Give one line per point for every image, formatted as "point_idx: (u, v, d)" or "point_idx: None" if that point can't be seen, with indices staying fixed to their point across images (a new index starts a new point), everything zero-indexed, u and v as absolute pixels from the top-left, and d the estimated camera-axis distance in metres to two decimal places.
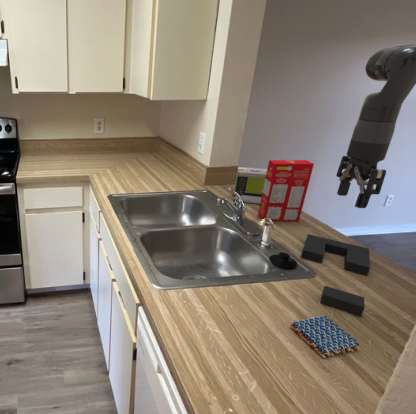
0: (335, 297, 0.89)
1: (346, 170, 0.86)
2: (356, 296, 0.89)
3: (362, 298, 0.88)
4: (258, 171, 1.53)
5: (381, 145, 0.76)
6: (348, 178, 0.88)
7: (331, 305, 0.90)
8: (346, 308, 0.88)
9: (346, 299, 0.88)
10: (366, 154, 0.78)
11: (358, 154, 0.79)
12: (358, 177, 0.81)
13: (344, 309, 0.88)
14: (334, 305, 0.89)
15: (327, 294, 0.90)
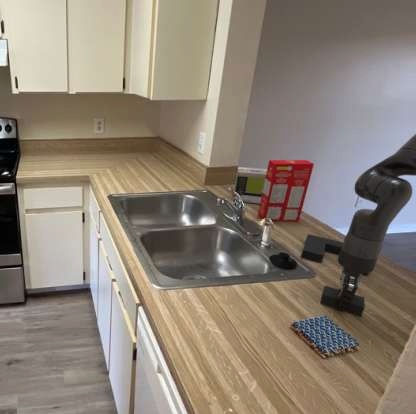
0: (335, 297, 0.89)
1: None
2: (356, 296, 0.89)
3: (362, 298, 0.88)
4: (258, 171, 1.53)
5: (361, 259, 0.81)
6: None
7: (331, 305, 0.90)
8: None
9: None
10: (347, 263, 0.83)
11: (341, 261, 0.85)
12: (341, 282, 0.87)
13: None
14: (334, 305, 0.89)
15: (327, 294, 0.90)
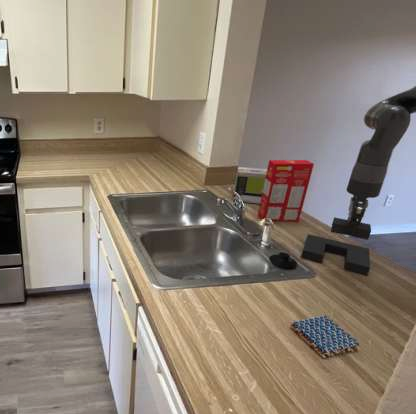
0: (344, 224, 0.98)
1: (350, 203, 0.99)
2: (363, 223, 0.98)
3: (368, 225, 0.98)
4: (258, 171, 1.53)
5: (368, 184, 0.90)
6: None
7: (341, 232, 0.99)
8: (355, 233, 0.97)
9: None
10: (355, 190, 0.93)
11: (350, 189, 0.94)
12: (349, 209, 0.96)
13: None
14: (343, 232, 0.98)
15: (337, 222, 0.99)
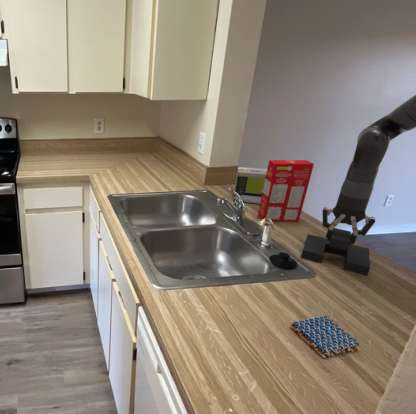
0: (334, 230, 1.10)
1: None
2: (347, 239, 1.04)
3: (347, 241, 1.03)
4: (258, 171, 1.53)
5: None
6: None
7: None
8: (330, 239, 1.08)
9: (336, 234, 1.08)
10: None
11: None
12: None
13: None
14: None
15: (336, 229, 1.11)
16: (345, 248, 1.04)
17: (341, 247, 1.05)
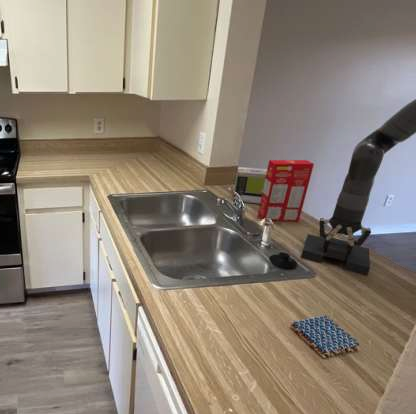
0: (331, 240, 1.11)
1: None
2: (344, 249, 1.06)
3: (343, 251, 1.05)
4: (258, 171, 1.53)
5: (336, 204, 1.05)
6: None
7: None
8: None
9: (333, 244, 1.09)
10: None
11: None
12: None
13: None
14: None
15: (333, 239, 1.12)
16: (342, 258, 1.06)
17: (337, 258, 1.06)
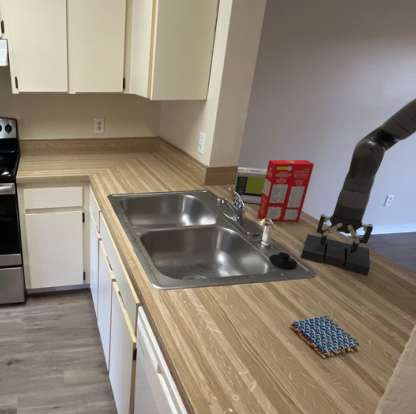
0: (328, 247, 1.12)
1: None
2: (341, 257, 1.07)
3: (341, 258, 1.06)
4: (258, 171, 1.53)
5: None
6: None
7: (325, 253, 1.14)
8: None
9: (330, 251, 1.10)
10: None
11: None
12: None
13: (324, 256, 1.12)
14: (325, 253, 1.13)
15: (330, 246, 1.14)
16: (339, 265, 1.07)
17: (335, 265, 1.07)
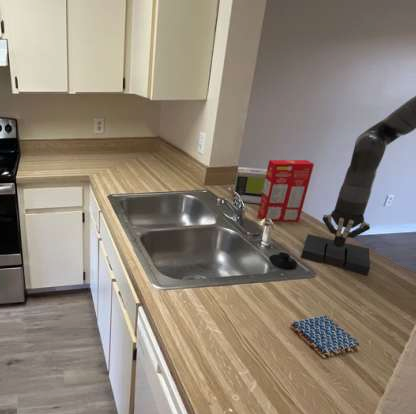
0: (328, 247, 1.12)
1: None
2: (341, 257, 1.07)
3: (341, 258, 1.06)
4: (258, 171, 1.53)
5: (338, 197, 1.04)
6: None
7: (325, 253, 1.14)
8: None
9: (330, 251, 1.10)
10: None
11: None
12: None
13: (324, 256, 1.12)
14: (325, 253, 1.13)
15: (330, 246, 1.14)
16: (339, 265, 1.07)
17: (335, 265, 1.07)
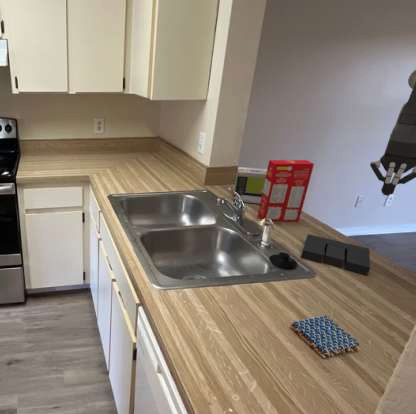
0: (328, 247, 1.12)
1: None
2: (341, 257, 1.07)
3: (341, 258, 1.06)
4: (258, 171, 1.53)
5: (389, 140, 0.98)
6: None
7: (325, 253, 1.14)
8: None
9: (330, 251, 1.10)
10: None
11: None
12: None
13: (324, 256, 1.12)
14: (325, 253, 1.13)
15: (330, 246, 1.14)
16: (339, 265, 1.07)
17: (335, 265, 1.07)
